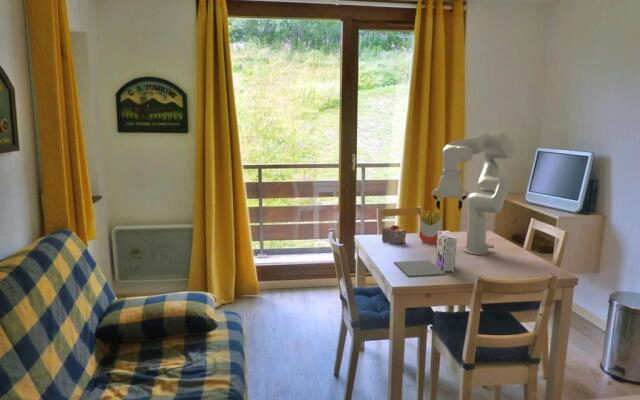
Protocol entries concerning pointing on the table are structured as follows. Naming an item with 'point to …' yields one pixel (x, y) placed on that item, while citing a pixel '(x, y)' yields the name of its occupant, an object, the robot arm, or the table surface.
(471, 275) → the table surface
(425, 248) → the table surface
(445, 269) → the candy box
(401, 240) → the food item
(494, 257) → the table surface
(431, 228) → the french fries container
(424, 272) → the mat
